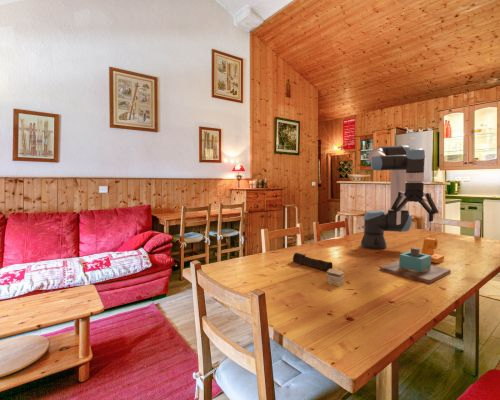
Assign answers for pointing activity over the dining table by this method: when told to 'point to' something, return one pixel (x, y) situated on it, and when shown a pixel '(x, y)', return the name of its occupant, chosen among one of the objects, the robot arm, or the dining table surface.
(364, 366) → the dining table surface
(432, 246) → the bracket
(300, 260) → the hand tool
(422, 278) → the post base
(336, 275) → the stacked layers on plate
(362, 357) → the dining table surface
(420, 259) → the collar
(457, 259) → the dining table surface
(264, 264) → the dining table surface
